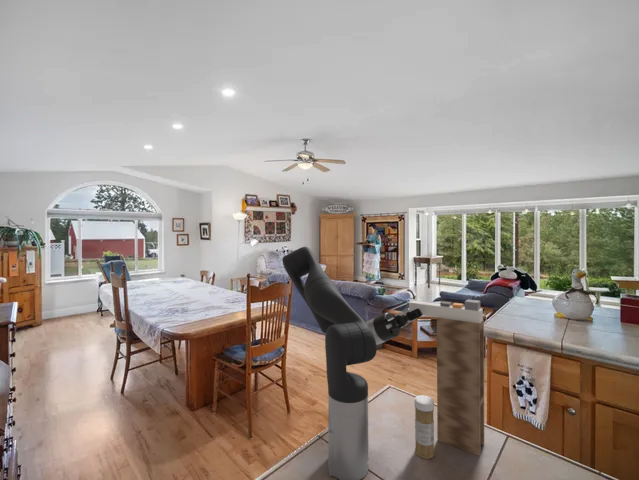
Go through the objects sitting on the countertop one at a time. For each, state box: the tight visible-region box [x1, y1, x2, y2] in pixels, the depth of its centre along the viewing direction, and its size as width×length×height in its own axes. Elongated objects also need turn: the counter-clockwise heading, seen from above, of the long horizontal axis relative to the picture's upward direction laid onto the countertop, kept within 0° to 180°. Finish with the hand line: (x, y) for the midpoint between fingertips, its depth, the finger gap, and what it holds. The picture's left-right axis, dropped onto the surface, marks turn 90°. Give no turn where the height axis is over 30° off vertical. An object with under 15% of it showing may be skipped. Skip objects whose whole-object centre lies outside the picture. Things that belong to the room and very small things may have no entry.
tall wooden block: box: [436, 317, 485, 457], centre depth 81 cm, size 10×6×32 cm, turn 52°
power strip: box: [408, 299, 484, 323], centre depth 83 cm, size 18×4×5 cm, turn 52°
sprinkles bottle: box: [414, 394, 435, 460], centre depth 77 cm, size 5×5×14 cm
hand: (426, 308), depth 86 cm, fingers open, 8 cm apart
